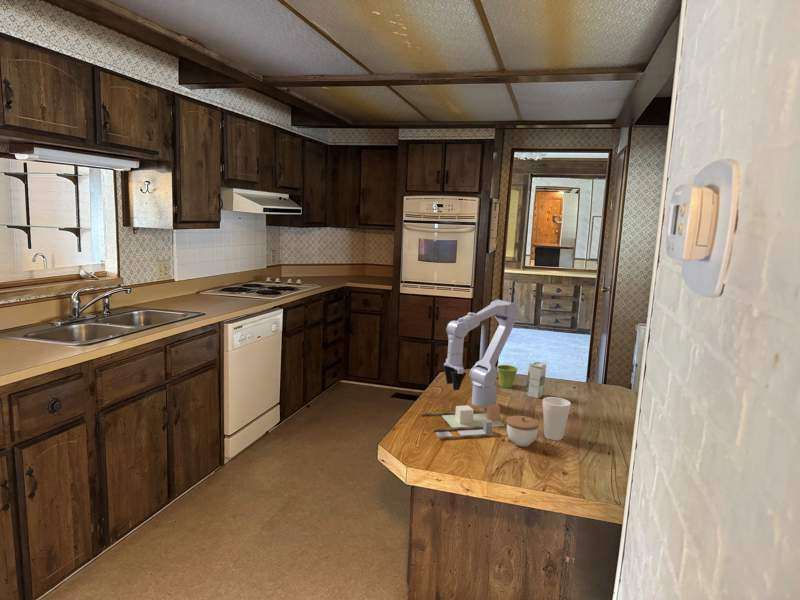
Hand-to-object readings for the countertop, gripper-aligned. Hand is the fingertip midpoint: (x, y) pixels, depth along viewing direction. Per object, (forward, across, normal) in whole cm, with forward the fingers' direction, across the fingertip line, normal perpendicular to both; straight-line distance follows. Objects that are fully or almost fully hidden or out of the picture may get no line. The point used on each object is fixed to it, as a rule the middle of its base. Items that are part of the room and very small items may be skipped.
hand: (452, 386), depth 213 cm
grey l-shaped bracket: (+10, +23, +1) cm, 25 cm away
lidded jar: (+11, +31, +14) cm, 36 cm away
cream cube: (+9, +12, +1) cm, 15 cm away
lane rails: (+10, +15, -3) cm, 19 cm away
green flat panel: (+10, +12, +4) cm, 16 cm away
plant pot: (+10, -28, +36) cm, 47 cm away
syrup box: (+10, -14, +43) cm, 47 cm away
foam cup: (+10, +28, +28) cm, 41 cm away
